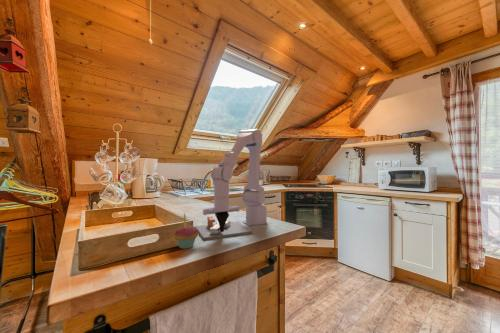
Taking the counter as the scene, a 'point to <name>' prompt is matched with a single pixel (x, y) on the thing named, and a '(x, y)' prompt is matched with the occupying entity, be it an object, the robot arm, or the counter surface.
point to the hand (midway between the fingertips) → (221, 231)
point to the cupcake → (186, 235)
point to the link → (218, 227)
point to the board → (232, 230)
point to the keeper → (210, 221)
